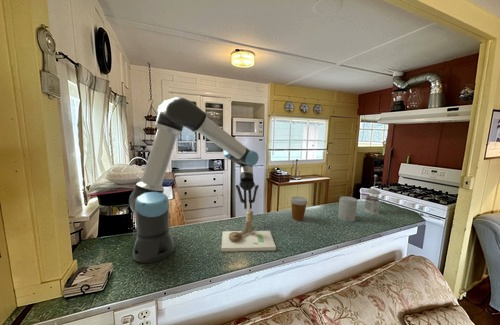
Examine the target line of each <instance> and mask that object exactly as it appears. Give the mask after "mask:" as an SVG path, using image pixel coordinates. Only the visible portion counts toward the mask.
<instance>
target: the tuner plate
mask: <svg viewBox="0 0 500 325" xmlns="http://www.w3.org/2000/svg"><path fill="white" fill-rule="evenodd" d="M242 231H243V230H242ZM242 231H241V230H239V231H238V230H237V231H235V230H234V231H232V230H230V231H222V237H221V247H220V248H221V252H256V251H261V252H262V251H277V245H276V243H275V241H274V238H273V236H272V232H271V231H270V230H253V231H251V232H249V233H246V234H244V235H242V239H241V240H240V241H231V240H230V239H229V234H230V233H232V232H239V233H240V232H242Z"/></svg>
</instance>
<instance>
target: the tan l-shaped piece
mask: <svg viewBox="0 0 500 325" xmlns="http://www.w3.org/2000/svg"><path fill="white" fill-rule="evenodd" d="M253 219H254V211H253V210H251V209H250V210H248V211H246V212H245V229H244V230H242V232H240V233H239V232H232V233H230V234H229V239H230V240H231V241H240V240H241V239H242V235H244V234H246V233H249V232H251V231H255V229H254V228H255V227H254V226H253V224H254V223H253Z"/></svg>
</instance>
